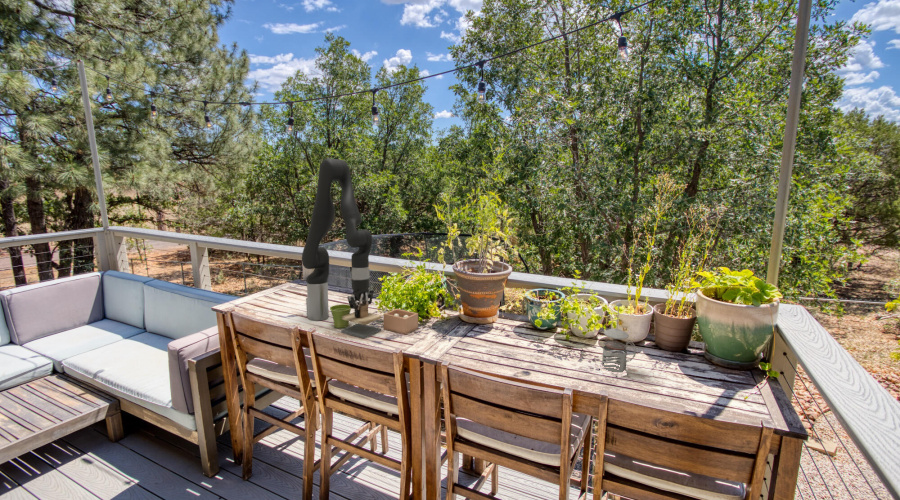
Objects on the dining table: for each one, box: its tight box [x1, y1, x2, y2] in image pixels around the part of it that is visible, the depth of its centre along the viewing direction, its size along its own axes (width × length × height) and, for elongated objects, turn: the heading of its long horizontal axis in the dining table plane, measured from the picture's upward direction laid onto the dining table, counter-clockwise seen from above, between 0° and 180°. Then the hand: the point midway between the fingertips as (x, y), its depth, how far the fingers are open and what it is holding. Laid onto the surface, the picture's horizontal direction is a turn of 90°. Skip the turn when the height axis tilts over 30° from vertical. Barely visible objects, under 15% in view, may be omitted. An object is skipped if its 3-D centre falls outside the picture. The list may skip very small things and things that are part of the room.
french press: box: [601, 301, 637, 372], centre depth 144 cm, size 10×12×25 cm
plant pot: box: [329, 303, 352, 329], centre depth 185 cm, size 9×9×9 cm
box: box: [382, 308, 419, 336], centre depth 183 cm, size 12×9×7 cm
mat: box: [340, 323, 382, 339], centre depth 180 cm, size 13×11×1 cm
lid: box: [342, 303, 382, 325], centre depth 178 cm, size 13×10×6 cm
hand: (361, 316), depth 179 cm, fingers closed on lid, 4 cm apart
